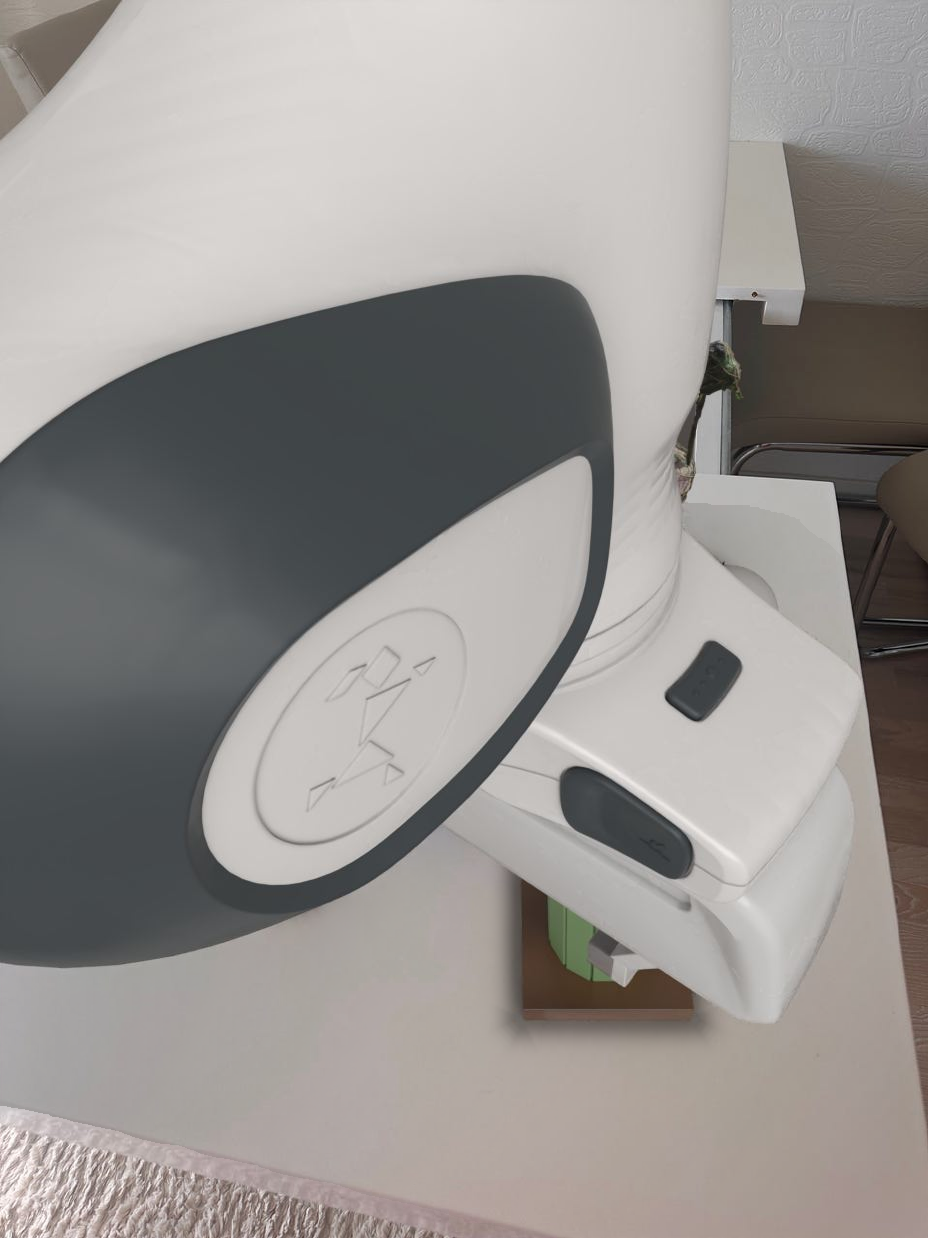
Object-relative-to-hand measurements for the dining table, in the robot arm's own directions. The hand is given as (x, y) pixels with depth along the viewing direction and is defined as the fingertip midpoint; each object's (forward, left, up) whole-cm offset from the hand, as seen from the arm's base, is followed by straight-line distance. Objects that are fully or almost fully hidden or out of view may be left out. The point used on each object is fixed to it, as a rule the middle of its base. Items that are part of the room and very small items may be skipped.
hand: (505, 883), depth 34 cm
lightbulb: (+26, -14, -22) cm, 36 cm away
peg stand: (+8, -5, -21) cm, 23 cm away
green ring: (+8, -5, -20) cm, 22 cm away
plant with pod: (+38, -11, -22) cm, 45 cm away
